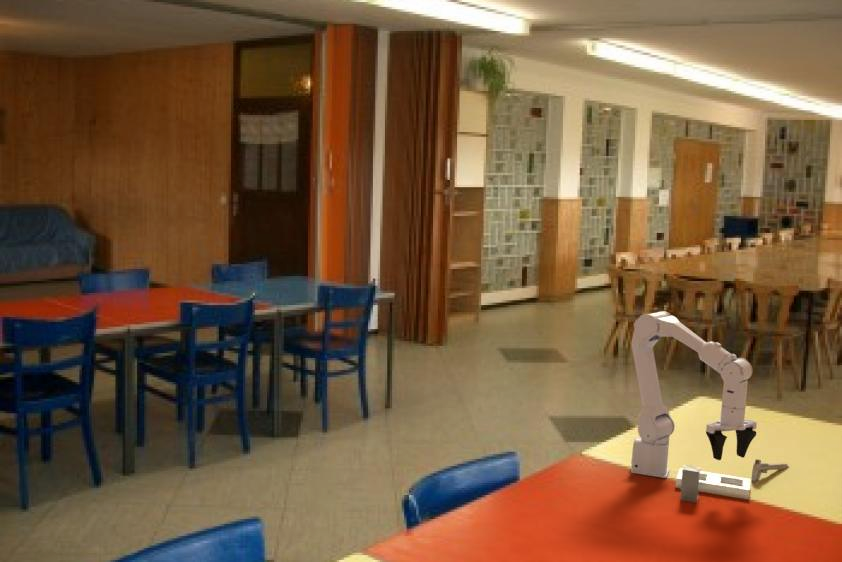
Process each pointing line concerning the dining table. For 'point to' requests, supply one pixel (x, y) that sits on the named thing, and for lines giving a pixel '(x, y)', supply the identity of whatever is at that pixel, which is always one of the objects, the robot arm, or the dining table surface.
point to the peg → (690, 483)
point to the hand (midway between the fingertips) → (728, 457)
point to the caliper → (764, 468)
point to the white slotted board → (720, 484)
